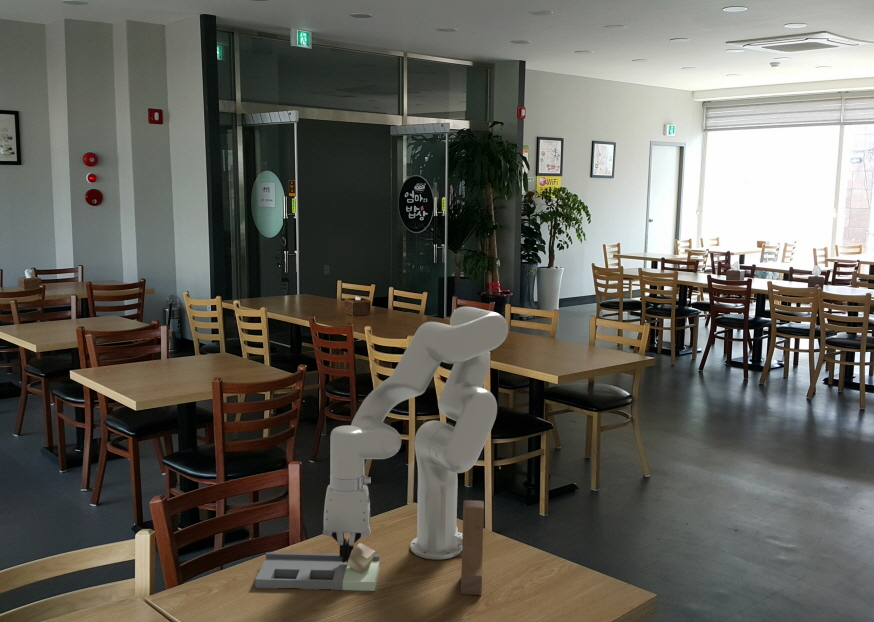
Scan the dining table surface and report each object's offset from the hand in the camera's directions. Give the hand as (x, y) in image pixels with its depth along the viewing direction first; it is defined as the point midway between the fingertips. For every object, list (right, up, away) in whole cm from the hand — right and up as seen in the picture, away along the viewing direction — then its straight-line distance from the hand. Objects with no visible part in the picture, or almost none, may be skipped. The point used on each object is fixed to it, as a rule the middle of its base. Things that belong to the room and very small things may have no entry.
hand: (346, 559), depth 180 cm
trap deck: (-6, -3, -2) cm, 7 cm away
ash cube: (+3, -1, -1) cm, 3 cm away
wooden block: (+28, -5, -4) cm, 29 cm away
